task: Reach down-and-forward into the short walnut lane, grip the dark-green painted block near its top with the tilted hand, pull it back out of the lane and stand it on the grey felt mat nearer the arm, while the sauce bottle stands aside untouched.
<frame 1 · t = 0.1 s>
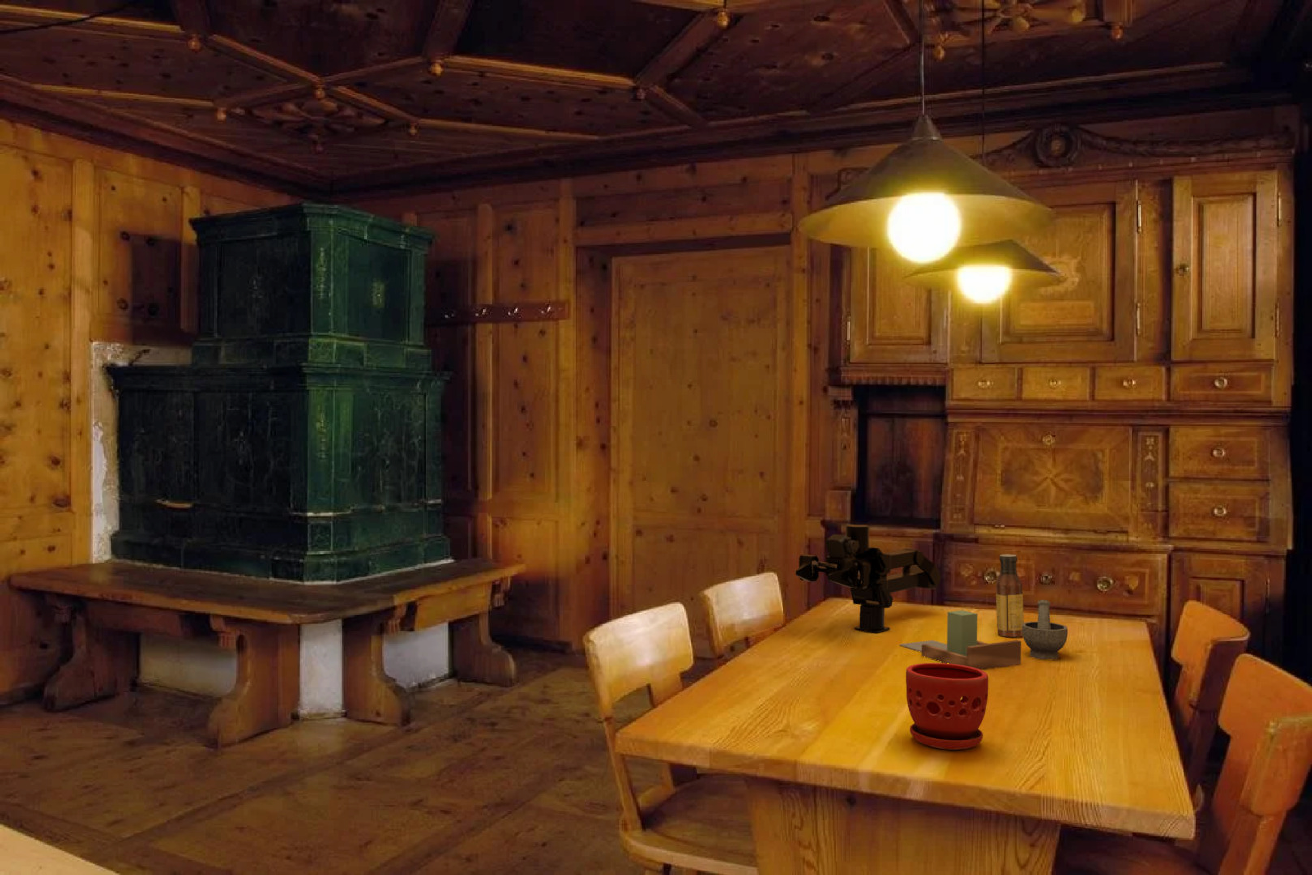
hand: (812, 575, 233), 17 cm above the table, tool horizontal, fingers open, 9 cm apart
felt mat: (930, 647, 232), on the table
mortar and pestle: (1044, 656, 225), on the table
plant pot: (945, 742, 165), on the table
walnut lane: (968, 659, 221), on the table
sauce bottle: (1009, 636, 245), on the table
green block: (961, 657, 223), on the table
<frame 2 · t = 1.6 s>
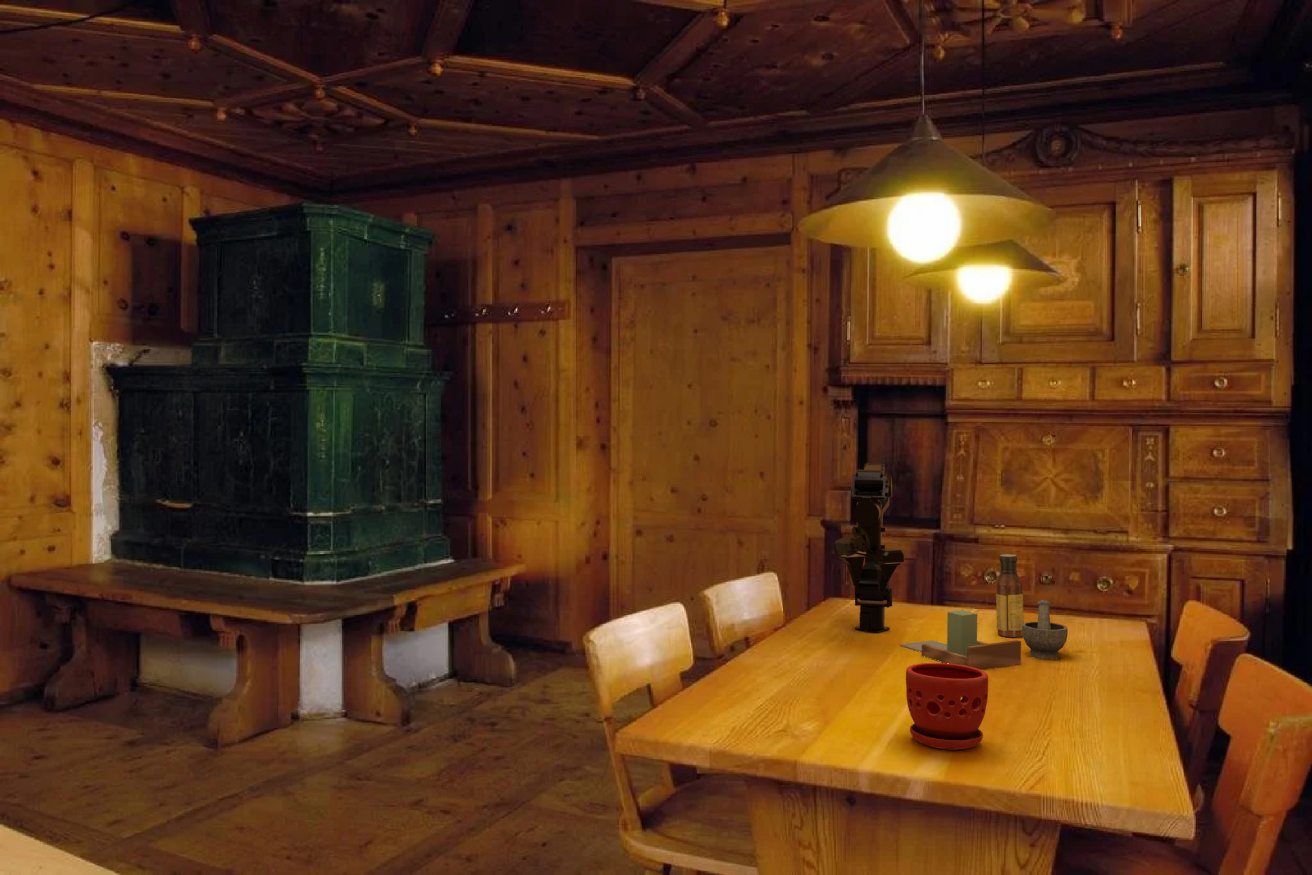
hand: (868, 588, 235), 13 cm above the table, tool pointing down, fingers open, 9 cm apart
nothing on the table moved.
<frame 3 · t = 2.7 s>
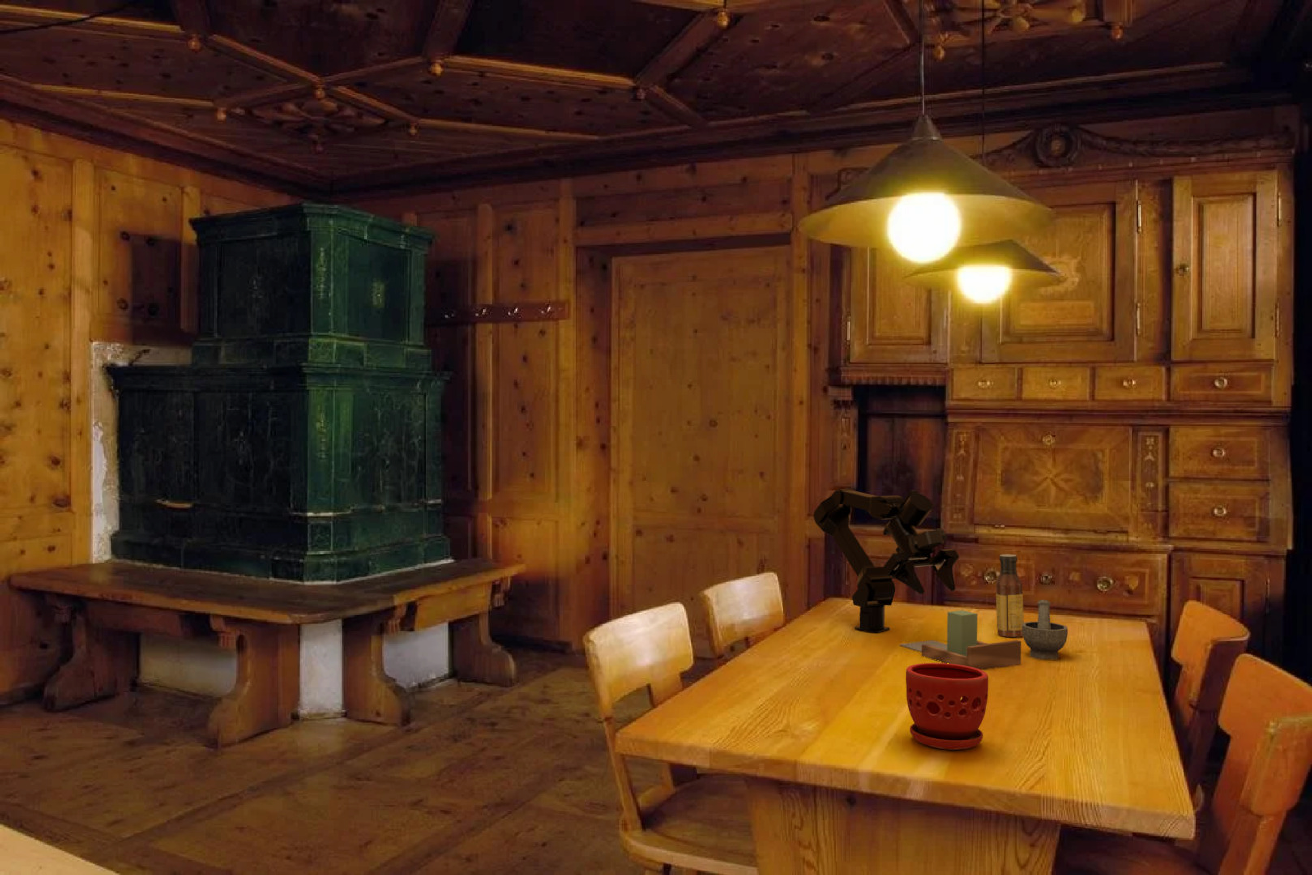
hand: (938, 591, 229), 13 cm above the table, tool tilted 45°, fingers open, 9 cm apart
nothing on the table moved.
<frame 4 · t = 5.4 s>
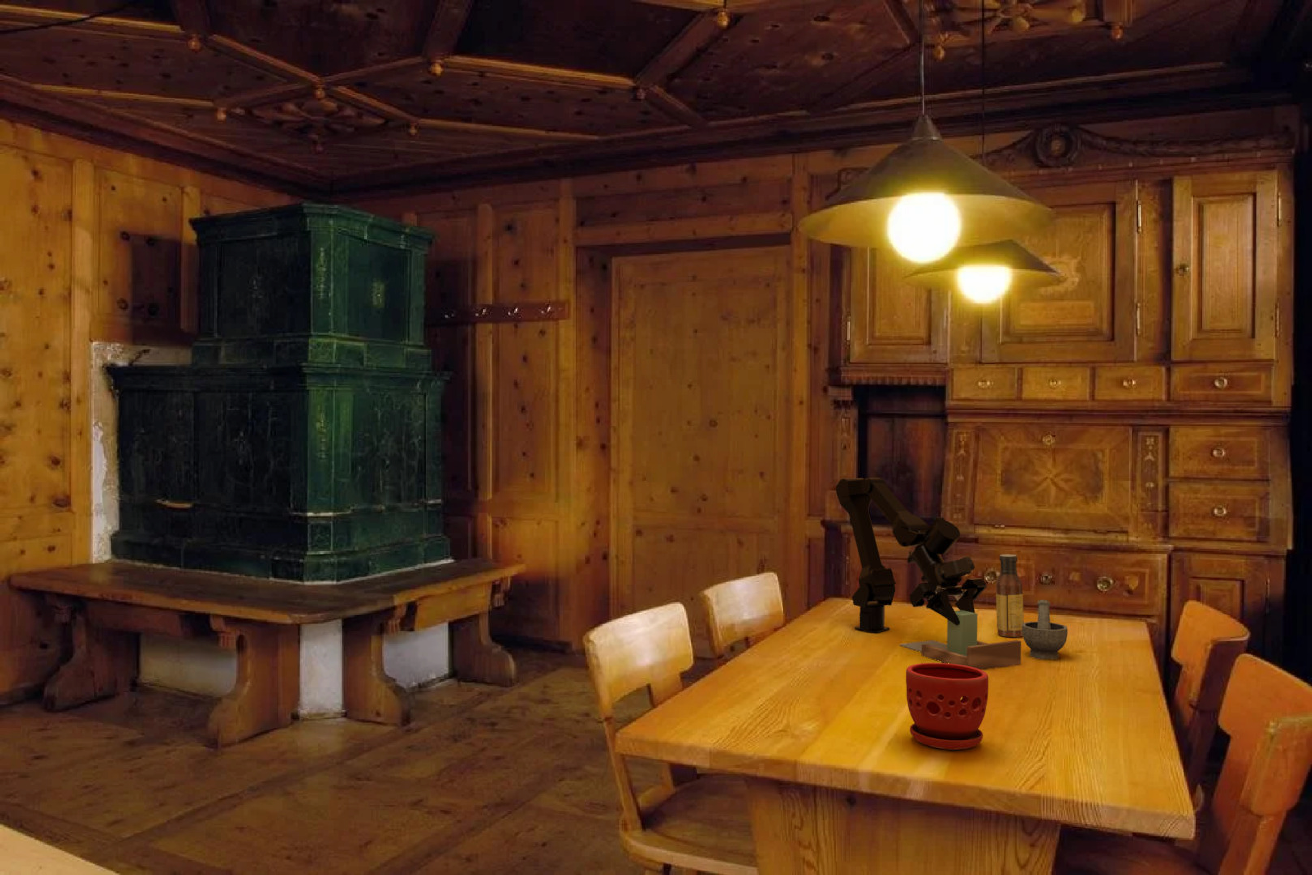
hand: (966, 623, 221), 8 cm above the table, tool tilted 45°, fingers closed on green block, 4 cm apart
green block: (961, 657, 223), on the table, touching gripper
everything else where it was.
when the fingers open (9 cm above the table, at t = 9.2 s): green block stays where it is, resting on felt mat.
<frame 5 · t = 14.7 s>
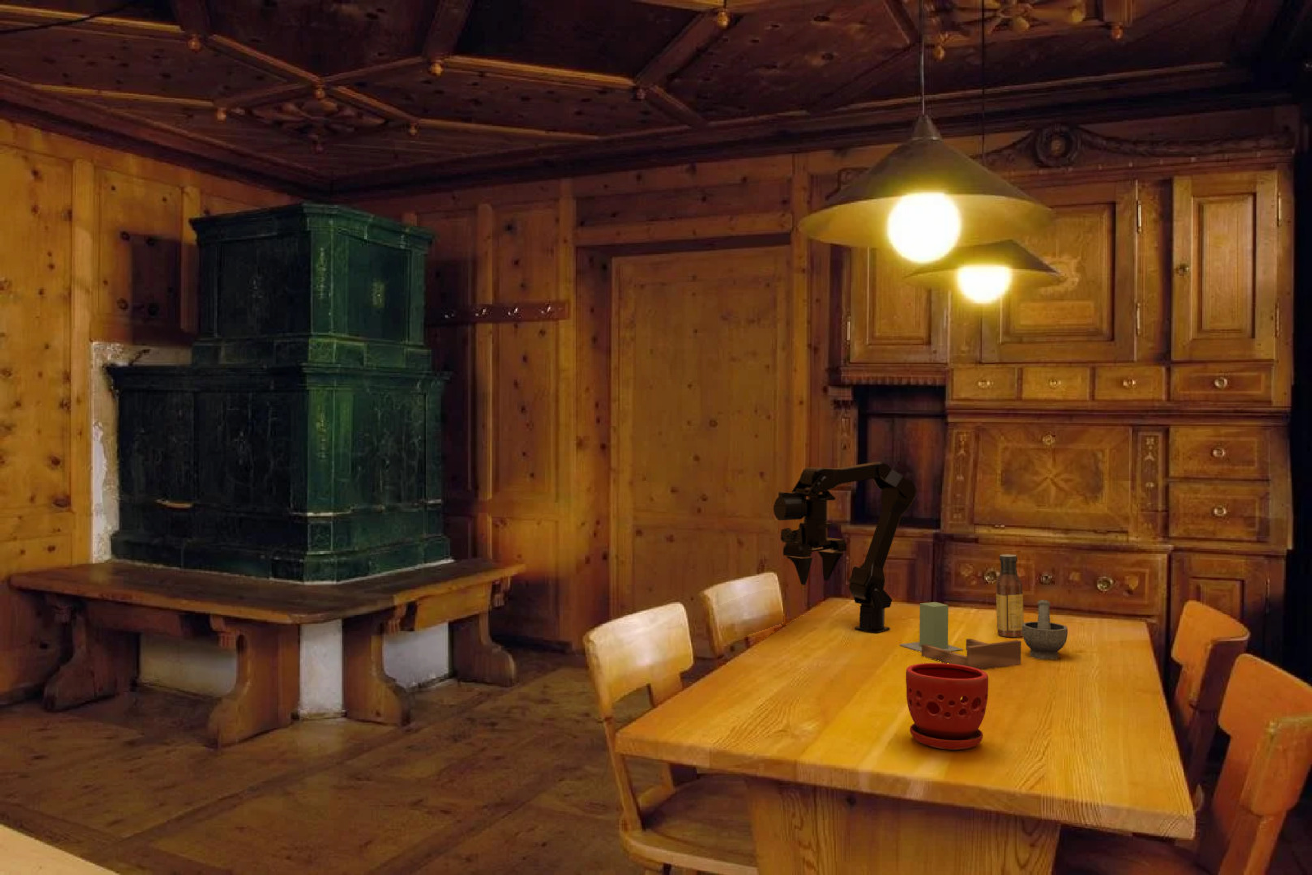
hand: (814, 582, 244), 13 cm above the table, tool pointing down, fingers open, 9 cm apart
green block: (933, 647, 231), resting on felt mat
everything else where it was.
at the end: green block inside the target area (0.7 cm from its centre), resting on felt mat; green block tilted 0°; the gripper is holding nothing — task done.
